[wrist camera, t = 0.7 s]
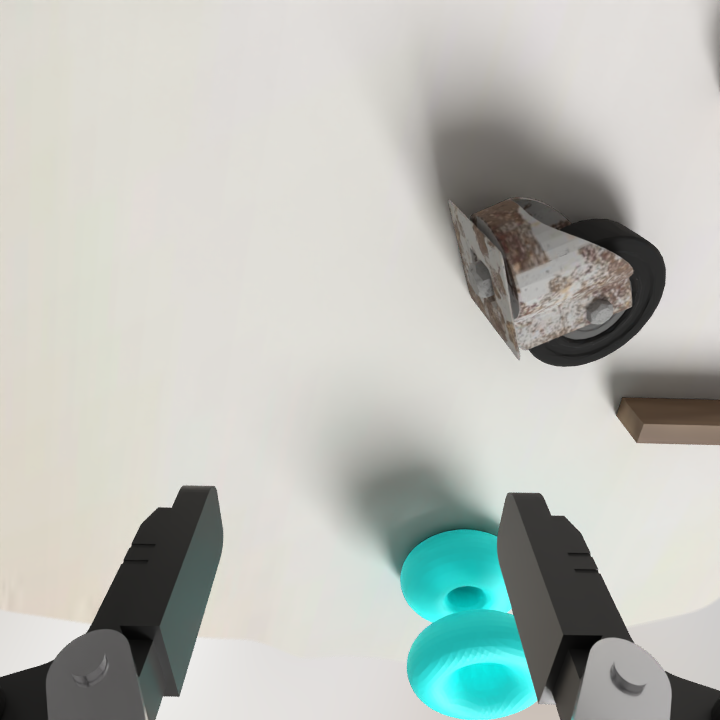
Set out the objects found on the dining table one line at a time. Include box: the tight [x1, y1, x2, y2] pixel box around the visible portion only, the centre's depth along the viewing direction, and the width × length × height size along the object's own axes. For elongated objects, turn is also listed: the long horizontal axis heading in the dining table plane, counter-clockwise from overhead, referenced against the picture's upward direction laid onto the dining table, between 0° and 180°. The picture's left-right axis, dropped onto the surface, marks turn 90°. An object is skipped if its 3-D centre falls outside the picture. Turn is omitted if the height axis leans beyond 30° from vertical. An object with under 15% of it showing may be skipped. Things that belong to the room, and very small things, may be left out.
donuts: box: [400, 529, 537, 720], centre depth 38 cm, size 10×10×10 cm
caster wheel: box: [448, 197, 666, 367], centre depth 28 cm, size 7×11×10 cm
